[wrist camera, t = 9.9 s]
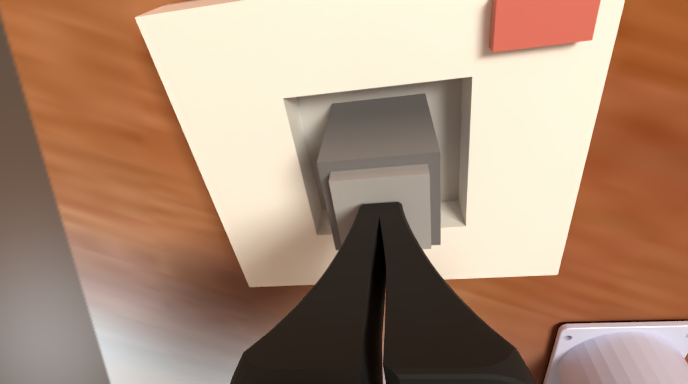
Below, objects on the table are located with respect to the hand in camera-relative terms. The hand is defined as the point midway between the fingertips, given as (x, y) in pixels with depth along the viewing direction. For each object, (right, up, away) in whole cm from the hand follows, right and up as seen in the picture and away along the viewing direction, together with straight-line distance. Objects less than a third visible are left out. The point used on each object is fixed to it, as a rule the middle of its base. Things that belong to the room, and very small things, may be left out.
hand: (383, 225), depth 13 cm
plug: (0, +4, +5) cm, 6 cm away
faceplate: (0, +4, +5) cm, 6 cm away
